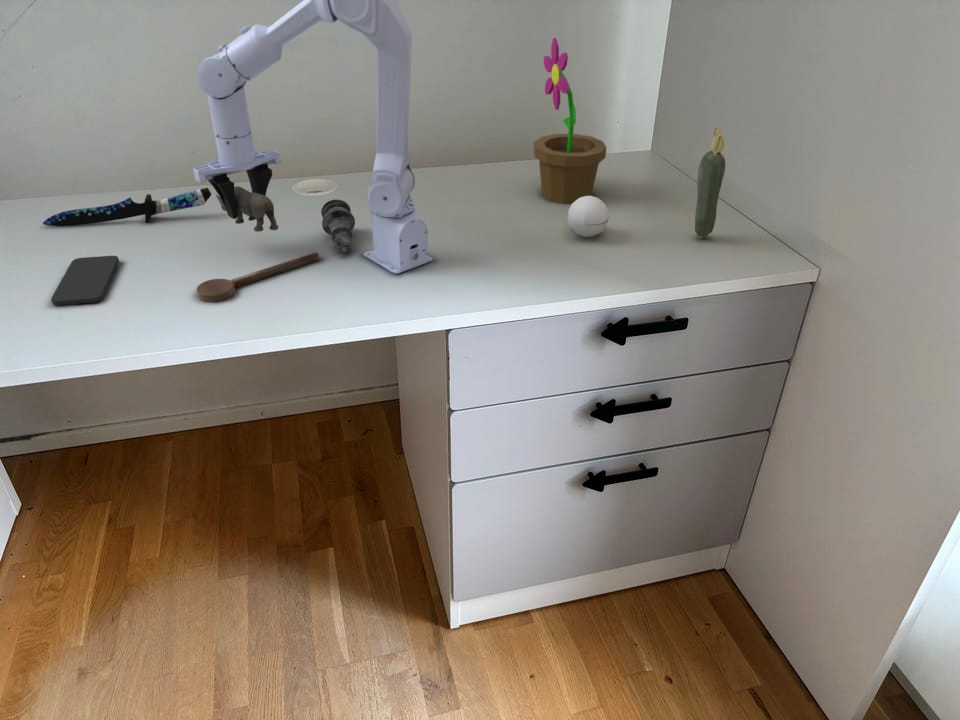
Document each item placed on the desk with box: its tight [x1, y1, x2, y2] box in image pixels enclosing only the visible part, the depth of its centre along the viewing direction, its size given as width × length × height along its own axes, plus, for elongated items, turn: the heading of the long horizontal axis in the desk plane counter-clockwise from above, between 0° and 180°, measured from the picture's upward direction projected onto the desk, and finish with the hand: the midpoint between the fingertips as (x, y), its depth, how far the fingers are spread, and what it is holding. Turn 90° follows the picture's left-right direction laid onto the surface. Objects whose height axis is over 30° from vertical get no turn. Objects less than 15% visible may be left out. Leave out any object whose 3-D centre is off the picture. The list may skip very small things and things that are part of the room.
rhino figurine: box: [216, 185, 279, 232], centre depth 129 cm, size 4×14×6 cm, turn 54°
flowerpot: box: [533, 37, 607, 204], centre depth 149 cm, size 14×14×30 cm
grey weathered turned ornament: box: [320, 198, 356, 254], centre depth 135 cm, size 6×6×12 cm
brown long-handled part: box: [196, 252, 320, 303], centre depth 125 cm, size 22×6×1 cm, turn 132°
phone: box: [50, 255, 120, 306], centre depth 123 cm, size 7×1×15 cm
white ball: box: [567, 195, 617, 238], centre depth 138 cm, size 10×7×7 cm
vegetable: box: [694, 127, 726, 240], centre depth 133 cm, size 4×4×20 cm
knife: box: [42, 187, 212, 227], centre depth 143 cm, size 31×3×4 cm, turn 98°
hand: (246, 212), depth 130 cm, fingers closed on rhino figurine, 4 cm apart
